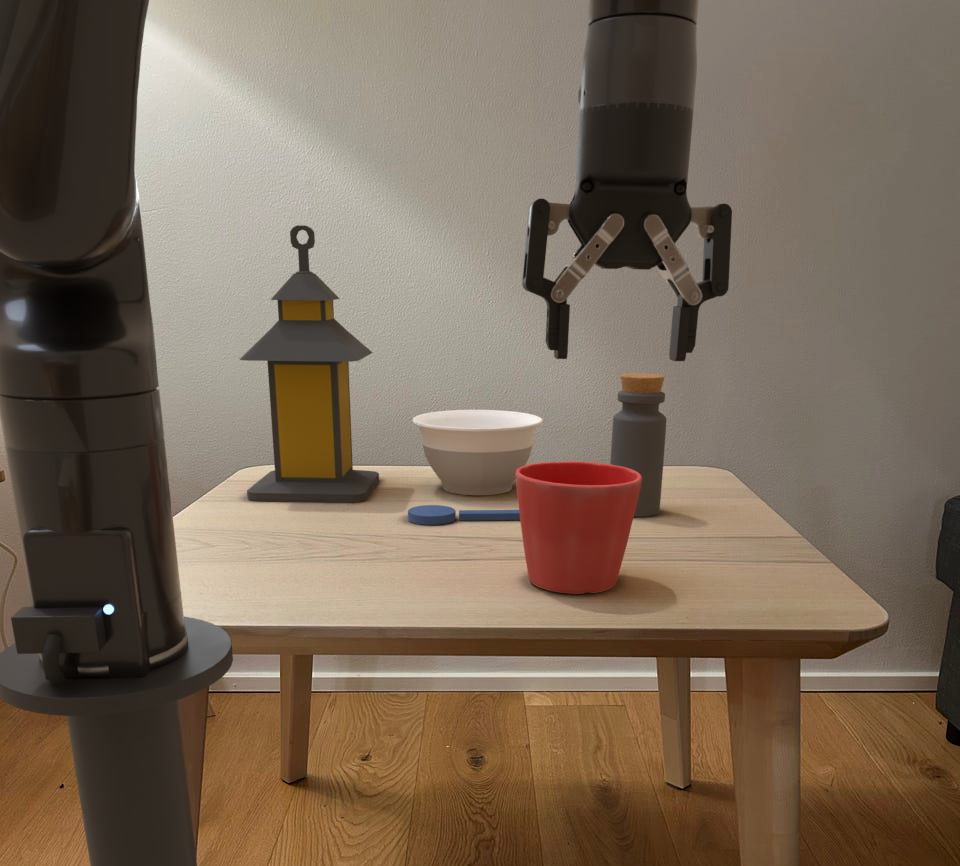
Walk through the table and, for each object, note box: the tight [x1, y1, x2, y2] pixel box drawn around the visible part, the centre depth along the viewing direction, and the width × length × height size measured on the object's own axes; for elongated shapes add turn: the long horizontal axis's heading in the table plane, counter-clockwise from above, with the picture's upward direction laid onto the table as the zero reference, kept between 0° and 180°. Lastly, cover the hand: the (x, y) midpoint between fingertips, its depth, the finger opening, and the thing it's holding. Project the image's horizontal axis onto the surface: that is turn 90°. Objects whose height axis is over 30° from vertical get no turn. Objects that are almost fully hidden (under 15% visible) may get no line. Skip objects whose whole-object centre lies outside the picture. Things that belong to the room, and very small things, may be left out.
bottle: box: [609, 372, 667, 518], centre depth 108 cm, size 6×6×15 cm
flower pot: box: [515, 460, 642, 595], centre depth 84 cm, size 11×11×10 cm
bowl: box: [411, 409, 544, 496], centre depth 120 cm, size 16×16×8 cm
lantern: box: [239, 224, 380, 503], centre depth 115 cm, size 14×14×30 cm
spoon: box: [407, 504, 520, 526], centre depth 106 cm, size 18×5×1 cm, turn 94°
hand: (619, 359), depth 70 cm, fingers open, 8 cm apart
